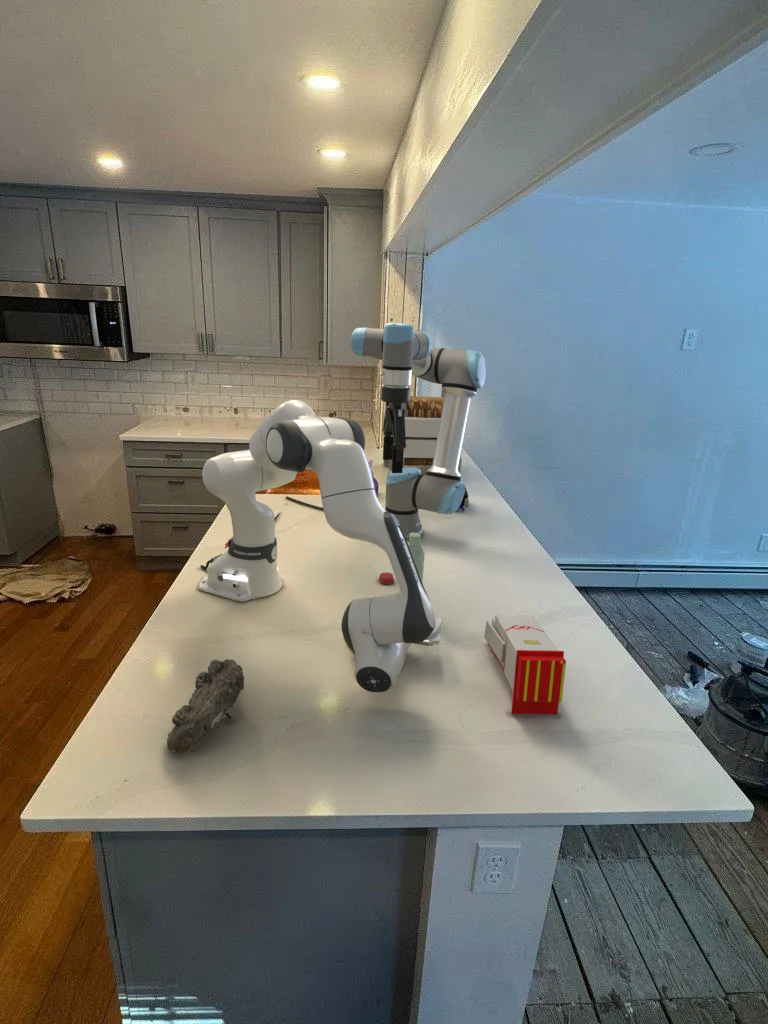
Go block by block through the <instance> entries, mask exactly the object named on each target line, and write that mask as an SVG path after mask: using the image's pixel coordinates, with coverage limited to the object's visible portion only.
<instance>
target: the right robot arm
mask: <svg viewBox="0 0 768 1024" xmlns="http://www.w3.org/2000/svg"><path fill="white" fill-rule="evenodd" d="M350 349H351V351H352V352H353V354H354V355H355V356H361V357H370V358H373V359H377V360H379V361H382V365H381V368H382V369H381V370H382V372H379V376H380V377H381V384H382V386H381V388H380V392H381V393H380V400H381V401H382V402H384V403H385V410H384V416H383V422H382V423H383V424H382V433H383V441H382V442H383V443H382V444H383V445H382V447H383V448H382V460H383V461H384V460H392V470H391V471H390V470H389V471H388V473H387V475H386V480H385V504H384V505H385V507H384V509H385V511H386V512H389V513H392V514H394V516H395V517H396V518H397V520H398V522H399V524H400V526H401V528H402V530H403V533H404V535H405V538H406V540H407V541H409V534H410V533H419V534H421V536H422V535H423V525H422V524H421V518H420V515H419V510H421V511H422V510H423V511H427V512H432V513H437V514H439V515H442V514H443V515H453V514H455V513H456V512H457V511H458V509H460V508H459V506H460V504H461V502H462V499H463V496H464V492H465V487H466V485H465V483H464V482H463V481H462V475H461V474H459V472H458V465H459V460H460V454H461V455H462V453H461V449H462V450H463V442H464V437H465V431H466V427H467V421H468V415H469V410H470V404H471V400H472V398H473V397H475V396H476V395H477V393H478V389H482V388H483V387H484V385H485V382H486V376H487V367H486V359H485V356H484V355H483V354H482V353H481V352H480V351H479V350H472V349H465V348H464V349H461V348H448V347H447V348H446V347H445V348H444V347H434V340H433V337H432V336H431V334H430V333H428V332H427V331H424V330H421V329H420V330H416V329H415V328H414V325H413V324H412V323H405V322H404V323H403V322H386V324H384V328H375V327H367V326H366V327H357V328H355V329H354V330H353V331H352V333H351V336H350ZM412 376H413V377H415V378H418V379H421V380H423V381H425V382H429V383H432V384H436V385H441V392H442V391H443V392H444V394H445V397H444V403H443V408H442V414H441V420H440V425H439V431H438V436H437V442H436V448H435V453H434V459H433V465H431V466H430V467H429V468H428V469H427V470H426V473H425V474H422V470H421V468H419V467H415V466H411V467H410V466H406V467H405V466H404V468H403V452H404V448H406V437H405V409H402V403H407V402H409V401H410V396H411V387H410V386H412ZM393 443H394V445H393ZM285 499H287V500H290V501H292V502H295V503H297V504H301V505H302V506H306V507H308V508H309V507H310V508H312V509H316V510H321V511H324V510H323V506H322V507H321V506H317V505H314V504H310V503H308V502H305V501H301V500H298V499H296V498H293V497H290V496H285Z"/></svg>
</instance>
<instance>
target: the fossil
mask: <svg viewBox="0 0 768 1024" xmlns="http://www.w3.org/2000/svg"><path fill="white" fill-rule="evenodd" d="M243 670H244V669H243V667H242V665H240V664H237V662H236V661H235V660H234V659H232V658H231V659H227V658H226V659H224V660H223V661H222V660H217V659H212V660H211V661H210V663H209V665H208V666H207V671H201V672H199V673H198V674H197V675H196V676H195V680H194V684H195V685H194V687H195V689H194V690H193V693H192V694H191V697H190V698H189V700H188V704H184V705H182V706H181V707H180V709H177V710H176V711H175V713H174V715H173V716H172V718H171V723H172V724H173V727H172V730H171V731H170V732H168V734H167V738H166V741H167V742H166V745H167V749H168V750H169V751H173V752H174V753H176V754H178V753H182V752H188V751H189V752H192V751H193V750H195V748H196V747H197V746H199V744H200V743H201V742H203V741H204V740H205V739H206V738H207V737H208V736H209V735H210V734H211V733H212V732H214V730H215V729H217V727H218V726H219V724H220V722H221V721H222V720H223V719H224V718H225V716H226V717H227V719H229V720H233V717H232V715H230V714H229V710H230V709H231V708H234V706H235V704H236V703H237V702H238V699H239V697H240V695H241V693H242V691H243V690H245V689H244V688H245V675H244V671H243Z"/></svg>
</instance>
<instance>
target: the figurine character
mask: <svg viewBox="0 0 768 1024" xmlns="http://www.w3.org/2000/svg"><path fill="white" fill-rule="evenodd" d="M469 505H470V500H469V492H468V490H467V488H466V486H465V492H464V496H463V499H462V502H461V504H460V506H459V508H458V509H461V511H462V512H464V511H465V508H469Z"/></svg>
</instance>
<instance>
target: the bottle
mask: <svg viewBox="0 0 768 1024" xmlns="http://www.w3.org/2000/svg"><path fill="white" fill-rule="evenodd" d="M421 538H422V535H421V534H419V533H410V534H409V540H408V541H407V543H408V546H409V548H410V551H411V554H412V557H413V559H414V562H415V565H416V568H417V570H418V573H419V576H420V579H421V581H422V584H424V583H423V581H424V570H425V569H424V568H425V555H426V552H425V549H424V546H423V545H422V543H421Z"/></svg>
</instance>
